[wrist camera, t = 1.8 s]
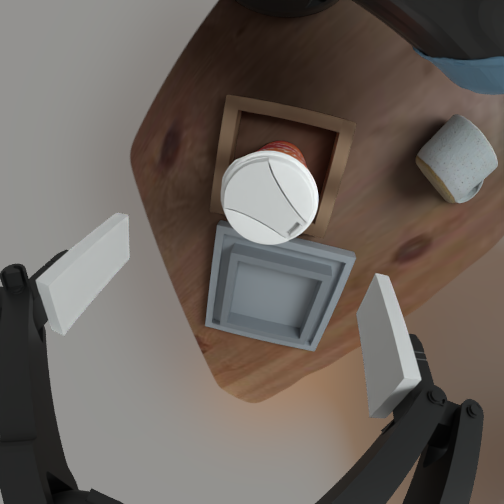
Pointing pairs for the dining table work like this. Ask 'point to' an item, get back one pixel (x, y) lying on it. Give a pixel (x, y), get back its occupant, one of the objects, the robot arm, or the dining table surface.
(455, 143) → the ceramic mug
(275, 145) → the paper cup
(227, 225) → the grey tray
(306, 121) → the walnut collar
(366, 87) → the dining table surface
